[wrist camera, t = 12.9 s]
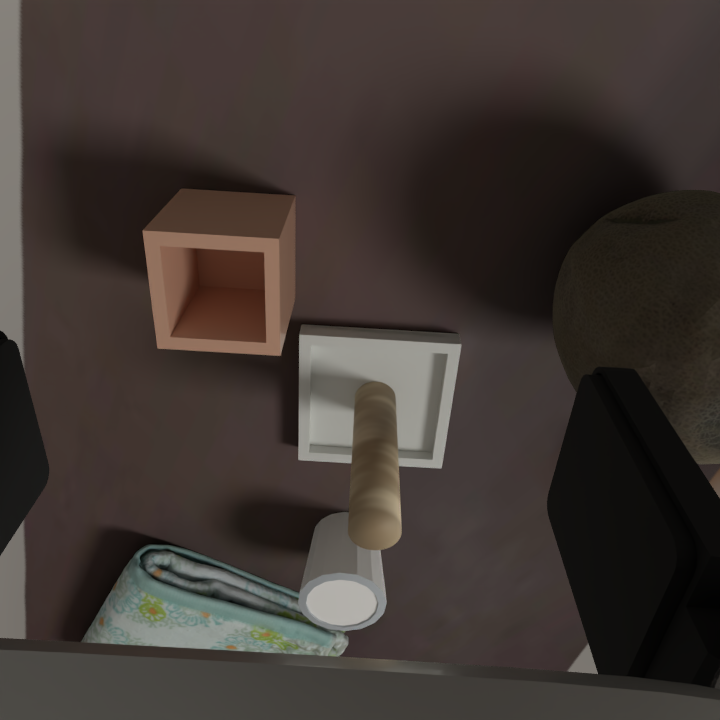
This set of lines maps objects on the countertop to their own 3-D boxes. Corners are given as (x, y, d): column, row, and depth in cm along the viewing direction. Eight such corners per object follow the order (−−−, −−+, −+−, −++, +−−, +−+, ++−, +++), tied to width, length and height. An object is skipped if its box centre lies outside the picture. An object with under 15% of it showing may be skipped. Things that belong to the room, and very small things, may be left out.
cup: (295, 195, 39) (279, 239, 33) (295, 298, 43) (280, 355, 37) (181, 188, 39) (142, 230, 33) (190, 292, 43) (157, 348, 37)
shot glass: (398, 550, 56) (400, 619, 50) (328, 571, 57) (322, 640, 51) (365, 496, 52) (363, 564, 46) (292, 520, 54) (281, 588, 48)
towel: (272, 700, 69) (265, 750, 64) (82, 634, 64) (60, 683, 59) (356, 608, 60) (354, 657, 56) (145, 523, 55) (125, 571, 51)
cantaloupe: (506, 350, 45) (557, 500, 32) (562, 146, 38) (658, 235, 25) (700, 372, 45) (826, 528, 33) (792, 175, 38) (1003, 277, 25)
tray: (458, 333, 44) (461, 344, 43) (440, 455, 50) (441, 468, 49) (301, 324, 44) (299, 334, 43) (300, 447, 50) (298, 460, 49)
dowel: (397, 382, 46) (403, 513, 35) (393, 416, 47) (399, 551, 36) (355, 380, 46) (349, 510, 35) (353, 413, 47) (346, 548, 36)
